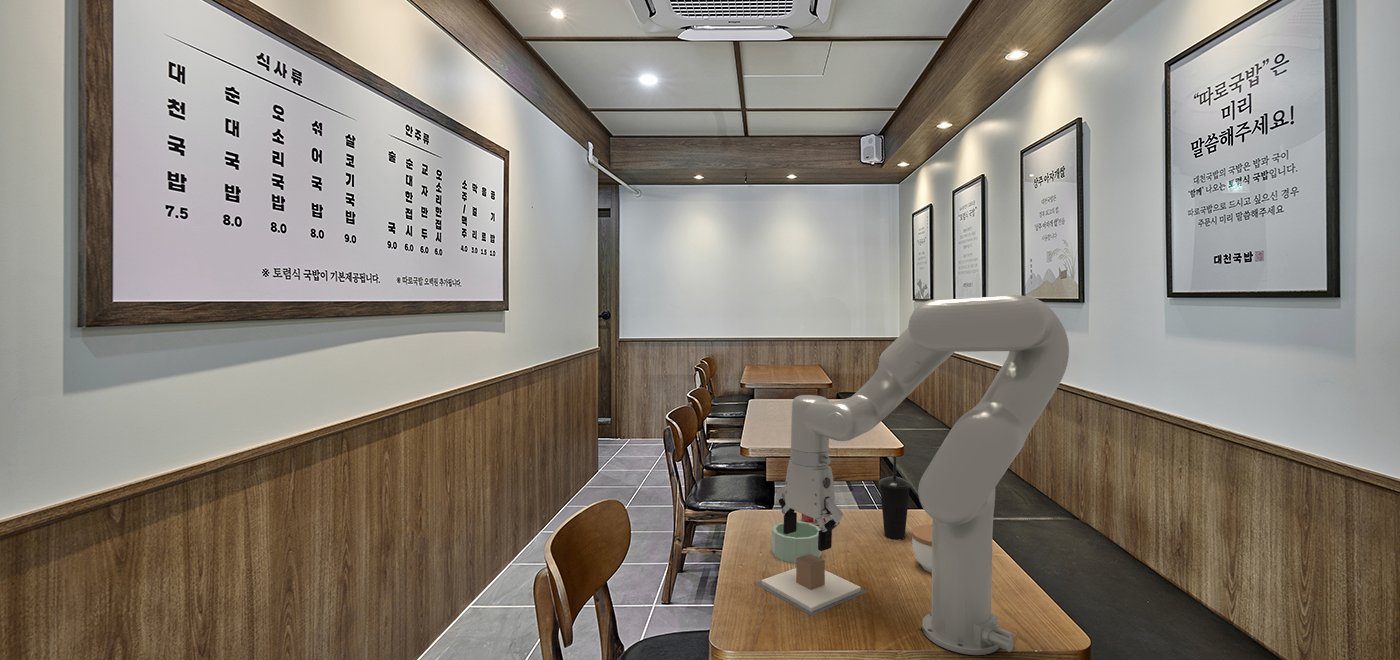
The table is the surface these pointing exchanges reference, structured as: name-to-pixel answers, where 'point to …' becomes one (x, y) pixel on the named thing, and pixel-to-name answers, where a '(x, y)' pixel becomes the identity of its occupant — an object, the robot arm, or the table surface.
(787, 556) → the bowl
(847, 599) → the mat
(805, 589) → the lid
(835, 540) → the table surface
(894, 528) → the drinking cup
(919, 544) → the lidded jar
